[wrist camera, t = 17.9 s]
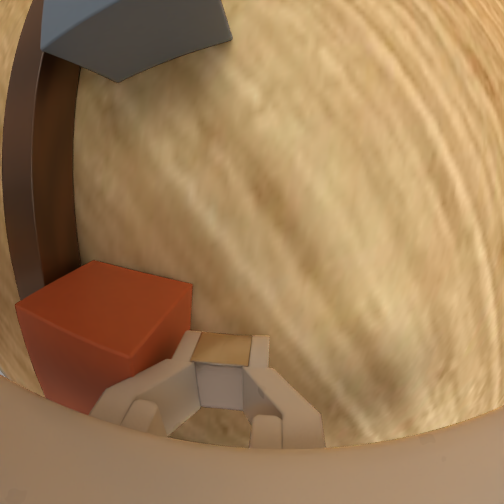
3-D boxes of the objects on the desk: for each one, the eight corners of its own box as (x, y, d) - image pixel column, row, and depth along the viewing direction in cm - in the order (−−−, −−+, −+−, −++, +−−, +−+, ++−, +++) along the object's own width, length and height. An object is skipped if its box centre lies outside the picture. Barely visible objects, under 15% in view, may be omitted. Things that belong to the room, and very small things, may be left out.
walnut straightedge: (64, 11, 7) (34, -5, 4) (97, -3, 7) (68, -25, 4) (126, 464, 15) (117, 487, 13) (150, 471, 15) (141, 495, 13)
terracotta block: (93, 258, 10) (13, 303, 6) (193, 283, 10) (130, 357, 6) (102, 347, 12) (48, 404, 7) (189, 376, 11) (149, 455, 7)
